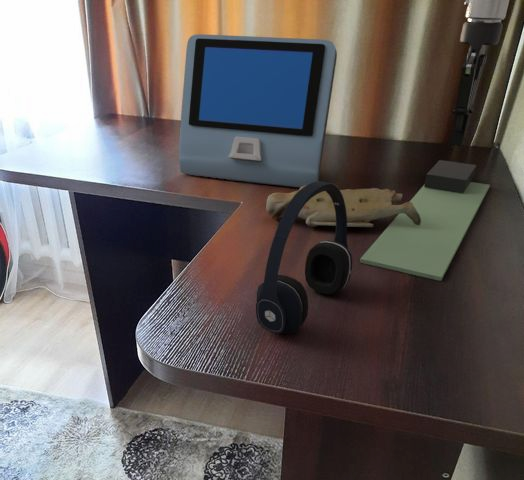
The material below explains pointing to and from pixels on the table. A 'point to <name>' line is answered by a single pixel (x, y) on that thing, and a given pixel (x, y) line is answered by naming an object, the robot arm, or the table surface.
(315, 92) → the touchscreen device
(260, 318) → the headphones
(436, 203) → the green mat
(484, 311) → the table surface
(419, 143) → the table surface
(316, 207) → the statue
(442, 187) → the black device
